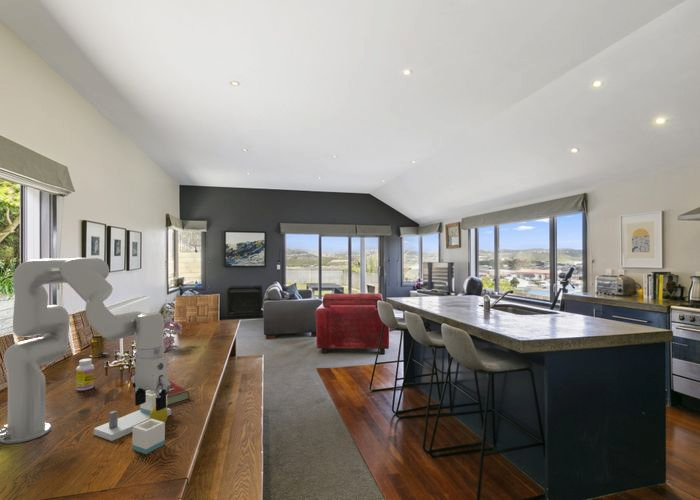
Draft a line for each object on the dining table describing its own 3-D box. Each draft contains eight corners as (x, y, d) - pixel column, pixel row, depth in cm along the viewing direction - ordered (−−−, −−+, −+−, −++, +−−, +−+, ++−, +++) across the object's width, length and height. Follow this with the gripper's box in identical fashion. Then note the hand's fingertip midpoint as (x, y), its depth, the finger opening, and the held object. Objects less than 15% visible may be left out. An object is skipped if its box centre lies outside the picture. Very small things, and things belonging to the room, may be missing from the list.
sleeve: (145, 454, 110) (146, 431, 111) (132, 449, 113) (132, 426, 113) (165, 444, 116) (165, 422, 116) (151, 439, 119) (152, 418, 119)
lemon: (163, 422, 131) (163, 400, 131) (170, 427, 128) (170, 404, 128) (146, 428, 127) (147, 405, 127) (153, 433, 123) (153, 409, 123)
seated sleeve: (151, 415, 133) (151, 395, 133) (140, 411, 135) (140, 392, 136) (167, 408, 138) (167, 390, 139) (155, 405, 141) (156, 387, 141)
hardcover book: (167, 387, 167) (167, 378, 167) (189, 399, 153) (189, 389, 153) (138, 395, 158) (139, 385, 158) (159, 408, 144) (159, 398, 144)
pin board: (111, 441, 118) (112, 419, 118) (93, 434, 122) (93, 413, 123) (171, 414, 138) (171, 395, 138) (153, 409, 142) (153, 391, 142)
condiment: (87, 356, 215) (87, 336, 215) (101, 352, 223) (101, 333, 223) (96, 357, 212) (96, 337, 212) (110, 353, 220) (110, 334, 220)
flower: (194, 346, 233) (188, 309, 241) (161, 350, 214) (154, 310, 222) (176, 355, 242) (170, 320, 250) (142, 360, 223) (137, 321, 231)
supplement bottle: (84, 391, 160) (84, 362, 160) (71, 390, 161) (72, 361, 161) (97, 386, 167) (97, 358, 167) (85, 385, 168) (85, 357, 168)
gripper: (179, 352, 115) (179, 406, 114) (143, 347, 122) (143, 398, 122) (157, 358, 108) (158, 416, 108) (121, 352, 115) (121, 406, 115)
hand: (150, 406), depth 115 cm, fingers open, 9 cm apart
